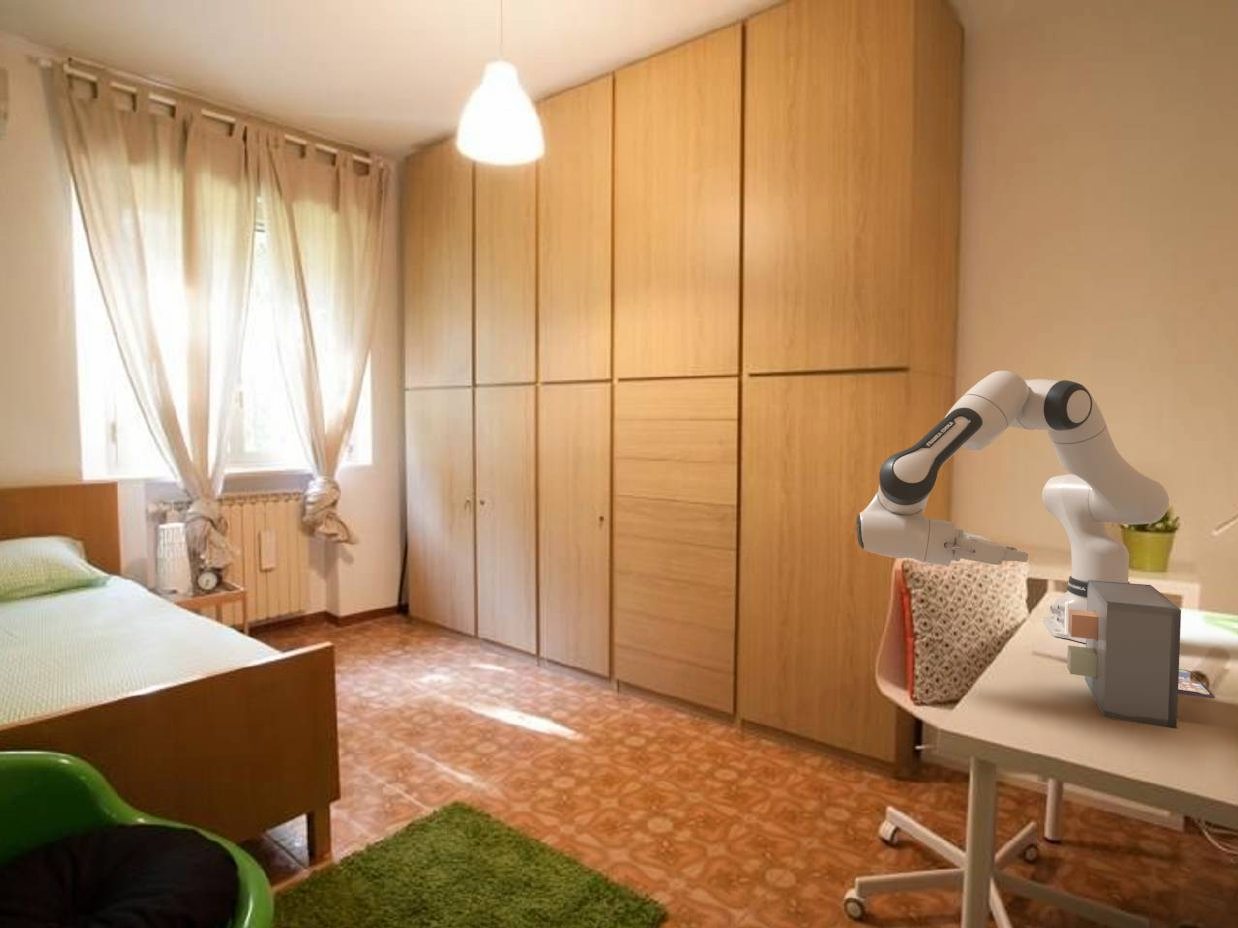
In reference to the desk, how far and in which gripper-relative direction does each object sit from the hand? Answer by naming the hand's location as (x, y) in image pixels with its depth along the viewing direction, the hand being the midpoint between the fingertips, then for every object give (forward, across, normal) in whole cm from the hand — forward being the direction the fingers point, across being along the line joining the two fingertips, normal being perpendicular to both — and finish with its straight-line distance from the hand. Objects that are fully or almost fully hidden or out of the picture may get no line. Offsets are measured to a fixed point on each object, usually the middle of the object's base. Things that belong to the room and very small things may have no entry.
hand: (1021, 554), depth 129 cm
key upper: (+12, +1, +13) cm, 18 cm away
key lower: (+13, +1, +20) cm, 24 cm away
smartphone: (+33, +16, +22) cm, 43 cm away
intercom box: (+20, +1, +24) cm, 31 cm away
